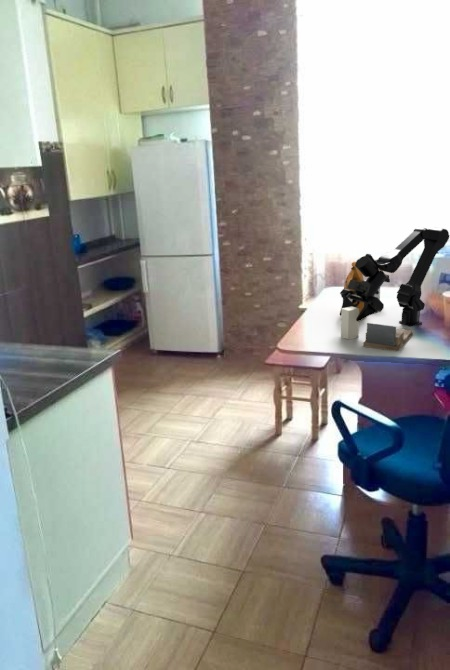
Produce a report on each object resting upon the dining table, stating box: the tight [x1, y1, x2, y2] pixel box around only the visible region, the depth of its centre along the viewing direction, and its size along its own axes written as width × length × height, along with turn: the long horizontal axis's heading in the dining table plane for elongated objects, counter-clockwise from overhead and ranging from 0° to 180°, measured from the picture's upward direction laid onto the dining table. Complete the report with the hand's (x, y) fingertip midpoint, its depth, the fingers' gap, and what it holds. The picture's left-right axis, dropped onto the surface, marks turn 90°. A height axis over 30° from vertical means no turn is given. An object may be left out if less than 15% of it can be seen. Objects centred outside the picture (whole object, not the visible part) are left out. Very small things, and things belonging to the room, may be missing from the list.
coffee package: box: [343, 261, 364, 314], centre depth 231 cm, size 10×12×22 cm
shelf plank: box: [362, 328, 413, 352], centre depth 201 cm, size 20×12×4 cm, turn 148°
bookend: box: [366, 322, 397, 346], centre depth 192 cm, size 1×10×7 cm, turn 59°
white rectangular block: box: [340, 306, 360, 340], centre depth 206 cm, size 5×4×11 cm
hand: (348, 317), depth 205 cm, fingers open, 9 cm apart
